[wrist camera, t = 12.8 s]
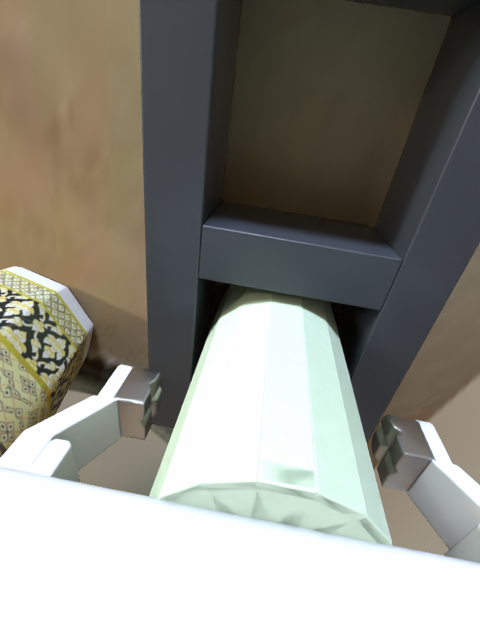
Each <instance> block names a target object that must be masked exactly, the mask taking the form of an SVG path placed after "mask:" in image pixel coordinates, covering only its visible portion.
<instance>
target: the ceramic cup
mask: <svg viewBox="0 0 480 640" xmlns="http://www.w3.org/2000/svg"><path fill="white" fill-rule="evenodd" d="M93 327H94V326H93V323H92V322H91V320H90V319H89V318H88V316H87V315H86V313H85V312H84V310H83V309H82V308H81V306H80V305H79V303H78V302H77V300H76V299H75V297H74V296H73V295H72V293H71V292H70V290H69V289H68V288H67V287H66V286H64V285H62V284H59V283H57V282H55V281H52V280H50V279H48V278H45V277H43V276H41V275H38V274H36V273H34V272H31V271H29V270H27V269H24V268H22V267H11V268H7V269H4V270H0V458H1V457H2V455H3V454H4V453H5V452H6V451H7V450H8V448H9V447H10V446H11V445H12V444H13V443H14V442H15V440H16V439H17V438H18V437H19V436H20V435H21V433H22V432H23V431H24V430H26V429H28V428H30V427H32V426H34V425H36V424H38V423H40V422H42V421H44V420H46V419H48V418H50V417H52V416H54V415H55V413H56V412H57V410H58V408H59V406H60V404H61V402H62V400H63V398H64V397H65V395H66V393H67V391H68V389H69V387H70V385H71V384H72V382H73V380H74V378H75V377H76V375H77V373H78V372H79V370H80V368H81V366H82V364H83V362H84V360H85V358H86V356H87V353H88V350H89V346H90V341H91V336H92V332H93Z"/></svg>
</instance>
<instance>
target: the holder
mask: <svg viewBox="0 0 480 640" xmlns="http://www.w3.org/2000/svg"><path fill="white" fill-rule="evenodd" d="M347 1H354V2H361V3H368V4H374V5H381V6H388V7H394V8H401V9H408V10H415V11H421V12H428V13H435V14H442V15H448V16H452V15H453V17H452V20H451V22H450V25H449V28H448V30H447V33H446V36H445V39H444V41H443V44H442V47H441V49H440V52H439V55H438V58H437V60H436V63H435V66H434V68H433V71H432V74H431V77H430V79H429V82H428V85H427V87H426V90H425V93H424V96H423V98H422V101H421V104H420V106H419V109H418V112H417V115H416V117H415V120H414V123H413V125H412V128H411V131H410V134H409V136H408V139H407V142H406V144H405V147H404V150H403V153H402V155H401V158H400V161H399V163H398V166H397V169H396V172H395V174H394V177H393V180H392V182H391V185H390V188H389V191H388V193H387V196H386V199H385V201H384V204H383V207H382V210H381V212H380V215H379V218H378V220H377V223H376V226H375V228H374V227H370V226H364V225H359V224H353V223H347V222H341V221H335V220H329V219H323V218H318V217H312V216H306V215H300V214H294V213H288V212H282V211H276V210H271V209H265V208H259V207H253V206H247V205H241V204H235V203H230V202H224V201H223V202H222V193H223V183H224V173H225V163H226V153H227V143H228V133H229V123H230V113H231V103H232V93H233V83H234V73H235V63H236V53H237V43H238V33H239V23H240V13H241V3H242V0H139V23H140V60H141V96H142V133H143V170H144V207H145V243H146V280H147V317H148V354H149V370H151V371H156V372H160V373H162V382H161V384H160V387H161V389H162V398H161V403H160V406H159V409H158V412H157V414H156V415H155V416H153V417H152V424H155V425H160V426H165V427H170V428H174V427H175V424H176V422H177V419H178V416H179V413H180V411H181V408H182V405H183V403H184V400H185V397H186V394H187V392H188V389H189V386H190V383H191V381H192V378H193V375H194V373H195V370H196V367H197V364H198V362H199V359H200V356H201V353H202V351H203V348H204V345H205V342H206V340H207V337H208V333H209V323H210V313H211V303H212V293H213V283H214V281H218V282H223V283H229V284H235V285H240V286H246V287H251V288H257V289H263V290H268V291H274V292H279V293H285V294H291V295H296V296H302V297H308V298H313V299H319V300H324V301H330V302H336V303H341V304H347V305H346V307H345V310H344V313H343V315H342V318H341V321H340V324H339V326H338V329H337V330H338V334H339V338H340V341H341V345H342V349H343V353H344V357H345V361H346V365H347V369H348V373H349V377H350V381H351V384H352V388H353V392H354V396H355V400H356V404H357V408H358V412H359V416H360V420H361V423H362V427H363V431H364V435H365V439H366V443H367V442H368V440H369V438H370V436H371V434H372V433H373V431H374V429H375V427H376V426H377V424H378V422H379V420H380V418H381V417H382V415H383V413H384V411H385V410H386V408H387V406H388V404H389V402H390V401H391V399H392V397H393V395H394V394H395V392H396V390H397V388H398V386H399V385H400V383H401V381H402V379H403V378H404V376H405V374H406V372H407V370H408V369H409V367H410V365H411V363H412V362H413V360H414V358H415V356H416V354H417V353H418V351H419V349H420V347H421V346H422V344H423V342H424V340H425V339H426V337H427V335H428V333H429V331H430V330H431V328H432V326H433V324H434V323H435V321H436V319H437V317H438V315H439V314H440V312H441V310H442V308H443V307H444V305H445V303H446V301H447V299H448V298H449V296H450V294H451V292H452V291H453V289H454V287H455V285H456V283H457V282H458V280H459V278H460V276H461V275H462V273H463V271H464V269H465V267H466V266H467V264H468V262H469V260H470V259H471V257H472V255H473V253H474V251H475V250H476V248H477V246H478V244H479V243H480V0H347Z"/></svg>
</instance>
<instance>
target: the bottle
mask: <svg viewBox="0 0 480 640" xmlns="http://www.w3.org/2000/svg"><path fill="white" fill-rule="evenodd" d="M149 497H154V498H158V499H161V500H166V501H171V502H176V503H181V504H186V505H191V506H196V507H200V508H205V509H210V510H215V511H220V512H225V513H230V514H235V515H240V516H245V517H250V518H255V519H260V520H265V521H270V522H275V523H280V524H285V525H290V526H295V527H300V528H305V529H310V530H315V531H320V532H325V533H330V534H335V535H340V536H345V537H350V538H355V539H360V540H365V541H370V542H375V543H380V544H385V545H390V546H392V541H391V537H390V533H389V530H388V525H387V521H386V517H385V514H384V510H383V506H382V502H381V498H380V494H379V490H378V486H377V482H376V479H375V474H374V470H373V466H372V463H371V459H370V455H369V451H368V447H367V443H366V439H365V435H364V431H363V427H362V423H361V420H360V416H359V412H358V408H357V404H356V400H355V396H354V392H353V388H352V384H351V381H350V377H349V373H348V369H347V365H346V361H345V357H344V353H343V349H342V345H341V341H340V338H339V334H338V330H337V326H336V322H335V318H334V314H333V310H332V306H331V302H330V301H324V300H319V299H313V298H308V297H302V296H296V295H291V294H285V293H279V292H274V291H268V290H263V289H257V288H251V287H246V286H240V285H235V284H231V285H230V286H229V287H228V289H227V290H226V292H225V294H224V296H223V298H222V299H221V302H220V304H219V307H218V310H217V312H216V315H215V318H214V321H213V323H212V326H211V329H210V332H209V334H208V337H207V340H206V342H205V345H204V348H203V351H202V353H201V356H200V359H199V362H198V364H197V367H196V370H195V373H194V375H193V378H192V381H191V383H190V386H189V389H188V392H187V394H186V397H185V400H184V403H183V405H182V408H181V411H180V413H179V416H178V419H177V422H176V424H175V427H174V430H173V433H172V435H171V438H170V441H169V443H168V446H167V449H166V452H165V454H164V457H163V460H162V463H161V465H160V468H159V471H158V474H157V476H156V479H155V482H154V484H153V487H152V490H151V493H150V495H149Z"/></svg>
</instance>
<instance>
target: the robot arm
mask: <svg viewBox="0 0 480 640" xmlns="http://www.w3.org/2000/svg"><path fill="white" fill-rule="evenodd" d="M161 382H162V373H160V372H156V371H151V370H147V369H142V368H137V367H131V366H126V365H122V364H121V365H120V366H118V367H117V368H116V370H115V371H114V373H113V374H112V376H111V377H110V378H109V380H108V381H107V383H106V384H105V386H104V387H103V388H102V390H101V391H100V393H99V394H98V396H94V395H93V396H91V397H89V398H87V399H85V400H84V401H81V402H79V403H77V404H75V405H73V406H71V407H69V408H67V409H65V410H63V411H62V412H60V413H58V414H56V415H54V416H52V417H50V418H48V419H46V420H44V421H42V422H40V423H38V424H36V425H34V426H32V427H30V428H28V429H26V430H24V431H23V432H22V433H21V435H20V436H19V437H18V438H17V439H16V440H15V442H14V443H13V444H12V445H11V446H10V447H9V448H8V450H7V451H6V452H5V453H4V454H3V455H2V457H1V458H0V640H480V485H479V484H478V483H477V482H476V481H474V480H473V479H472V478H471V477H470V476H469V475H468V474H467V473H465V472H464V471H463V470H462V469H461V468H460V467H459V466H458V465H454V464H452V462H451V460H450V458H449V456H448V454H447V452H446V450H445V448H444V446H443V444H442V442H441V440H440V438H439V436H438V434H437V432H436V430H435V428H434V426H433V425H432V424H431V423H429V422H424V421H418V420H412V419H407V418H401V417H395V416H390V415H386V416H385V417H383V419H382V421H381V424H382V427H381V428H379V429H377V430H376V431H375V433H374V435H373V439H372V451H373V455H374V457H375V458H376V459H377V461H378V462H379V463H380V464H379V466H378V467H377V470H378V474H379V477H380V481H381V484H382V487H387V488H391V489H396V490H400V491H405V492H407V494H408V496H409V497H410V498H411V500H412V501H413V502H414V504H415V505H416V506H417V507H418V508H419V510H420V511H421V513H422V514H423V515H424V517H425V518H426V519H427V521H428V522H429V523H430V525H431V526H432V527H433V529H434V530H435V531H436V532H437V534H438V535H439V536H440V538H441V539H442V540H443V542H444V543H445V544H446V546H447V547H448V548H449V551H448V552H447V553H446V554H445V555H438V554H433V553H428V552H423V551H418V550H413V549H408V548H403V547H398V546H393V545H392V546H390V545H385V544H380V543H375V542H370V541H365V540H360V539H355V538H350V537H345V536H340V535H335V534H330V533H325V532H320V531H315V530H310V529H305V528H300V527H295V526H290V525H285V524H280V523H275V522H270V521H265V520H260V519H255V518H250V517H245V516H240V515H235V514H230V513H225V512H220V511H215V510H210V509H205V508H200V507H196V506H191V505H186V504H181V503H176V502H171V501H166V500H161V499H158V498H154V497H149V496H144V495H139V494H134V493H129V492H124V491H119V490H114V489H109V488H104V487H99V486H94V485H90V484H85V483H80V479H79V475H78V471H79V470H80V469H81V468H83V467H84V466H85V465H86V464H88V463H89V462H90V461H91V460H92V459H94V458H95V457H96V456H98V455H99V454H100V453H101V452H103V451H104V450H105V449H107V448H108V447H109V446H111V445H112V444H113V443H114V442H116V441H117V440H118V439H119V438H121V436H124V437H130V438H136V439H142V440H145V438H146V436H147V434H148V432H149V430H150V427H151V425H152V417H153V416H155V415H156V414H157V412H158V409H159V406H160V403H161V398H162V389H161V387H160V384H161Z"/></svg>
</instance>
